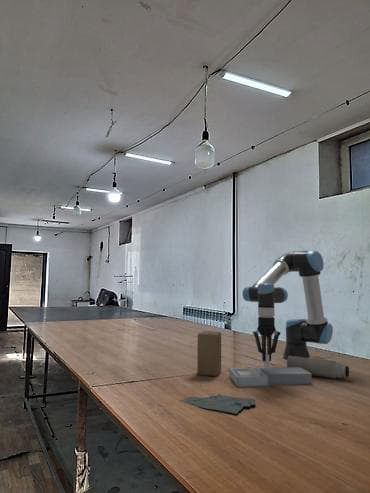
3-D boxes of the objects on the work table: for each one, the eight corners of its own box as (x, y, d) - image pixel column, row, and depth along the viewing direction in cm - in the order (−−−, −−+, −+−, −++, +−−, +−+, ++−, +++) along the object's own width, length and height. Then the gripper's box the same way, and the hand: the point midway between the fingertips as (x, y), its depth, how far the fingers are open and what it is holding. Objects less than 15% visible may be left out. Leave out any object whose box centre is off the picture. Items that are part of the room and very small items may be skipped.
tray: (257, 376, 176) (257, 367, 177) (268, 386, 161) (268, 376, 161) (229, 376, 175) (229, 368, 175) (237, 386, 159) (237, 377, 160)
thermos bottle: (290, 373, 188) (349, 382, 172) (285, 369, 182) (346, 377, 167) (292, 358, 191) (350, 365, 176) (288, 353, 186) (347, 360, 170)
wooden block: (221, 372, 184) (221, 331, 186) (216, 377, 175) (216, 334, 177) (202, 370, 187) (202, 330, 189) (196, 375, 178) (197, 333, 180)
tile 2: (254, 363, 172) (248, 365, 171) (258, 366, 166) (252, 368, 165) (257, 376, 171) (251, 378, 171) (261, 379, 165) (255, 381, 165)
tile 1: (237, 371, 171) (237, 378, 170) (240, 375, 165) (240, 381, 164) (249, 371, 171) (250, 378, 171) (253, 374, 165) (253, 381, 165)
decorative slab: (203, 422, 120) (203, 416, 120) (176, 400, 142) (176, 395, 142) (270, 412, 130) (270, 406, 130) (235, 392, 152) (235, 387, 152)
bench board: (300, 376, 176) (300, 367, 177) (311, 383, 165) (311, 373, 165) (260, 377, 174) (260, 367, 175) (268, 384, 163) (268, 374, 163)
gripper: (276, 315, 176) (277, 366, 174) (250, 315, 174) (250, 366, 172) (282, 317, 168) (283, 370, 166) (255, 317, 167) (255, 370, 165)
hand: (266, 368), depth 169 cm, fingers closed
